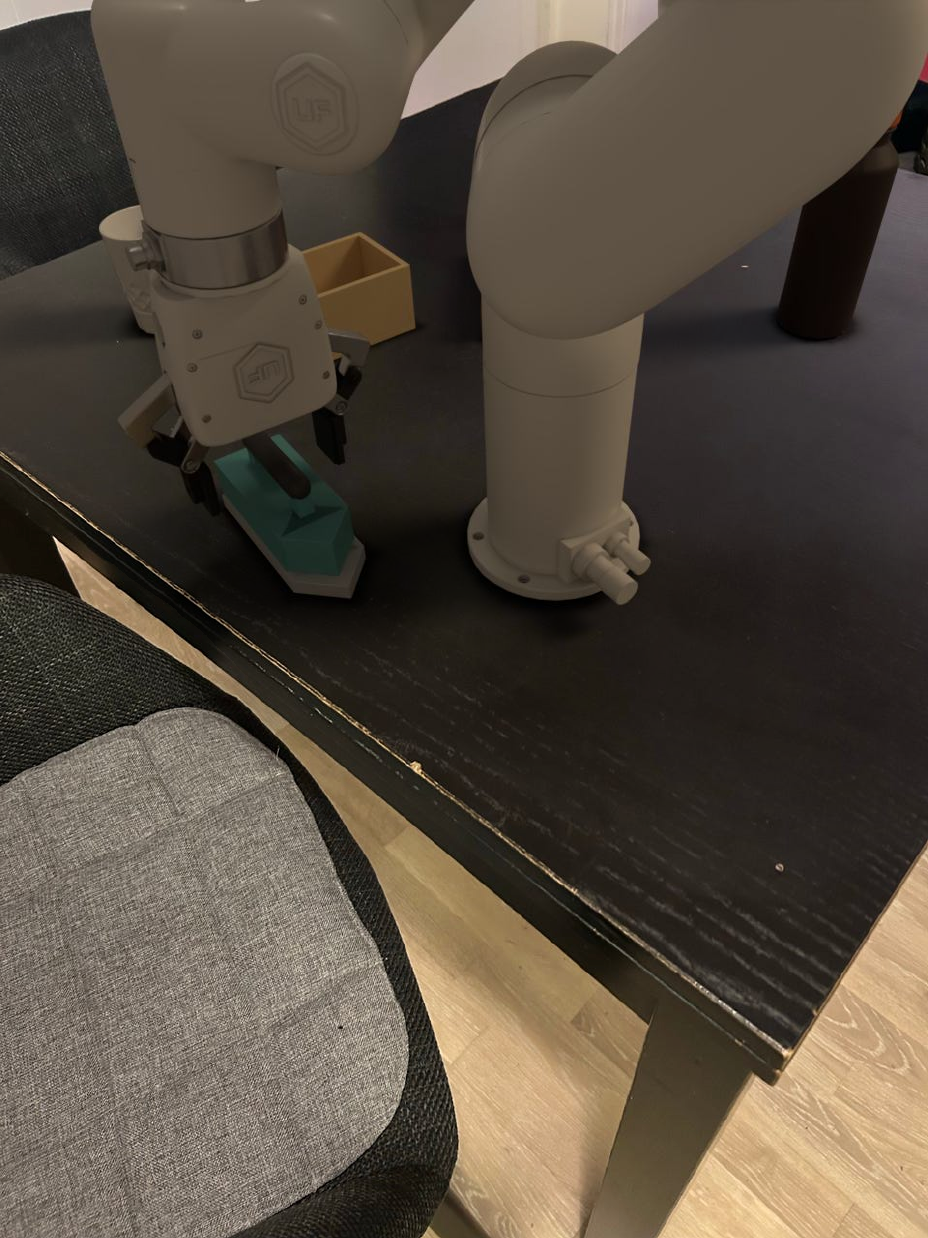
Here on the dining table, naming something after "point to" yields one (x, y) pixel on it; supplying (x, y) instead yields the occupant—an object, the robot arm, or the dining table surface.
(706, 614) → the dining table surface
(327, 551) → the iron
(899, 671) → the dining table surface
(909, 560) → the dining table surface
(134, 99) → the robot arm
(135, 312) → the white cup
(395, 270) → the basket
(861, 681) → the dining table surface
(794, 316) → the bottle
